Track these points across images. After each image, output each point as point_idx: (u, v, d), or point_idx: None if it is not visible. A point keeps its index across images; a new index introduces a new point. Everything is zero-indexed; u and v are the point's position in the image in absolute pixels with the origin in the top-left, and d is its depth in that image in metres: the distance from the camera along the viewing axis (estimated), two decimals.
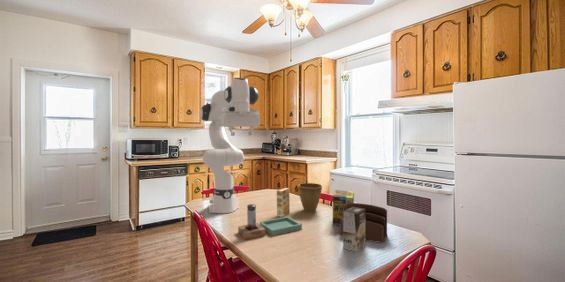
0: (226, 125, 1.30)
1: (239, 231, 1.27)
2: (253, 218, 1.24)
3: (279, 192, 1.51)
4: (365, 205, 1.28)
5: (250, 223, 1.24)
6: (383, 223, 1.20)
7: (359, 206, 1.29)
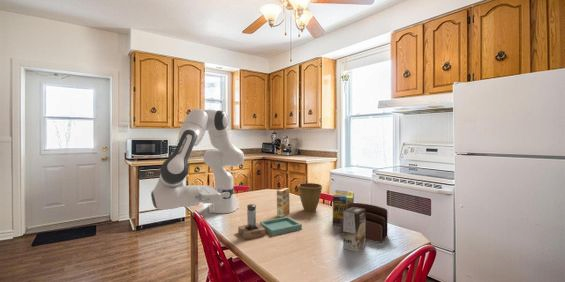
0: None
1: (239, 231, 1.27)
2: (253, 218, 1.24)
3: (279, 192, 1.51)
4: (366, 205, 1.28)
5: (250, 223, 1.24)
6: (383, 223, 1.20)
7: (360, 206, 1.30)
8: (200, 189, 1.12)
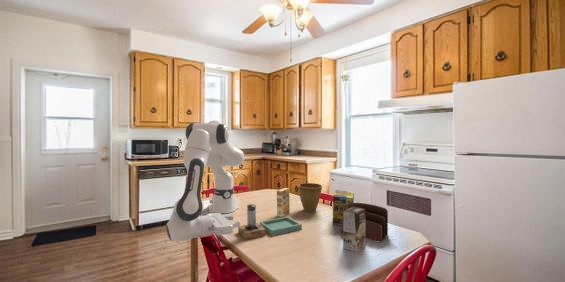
0: None
1: (239, 231, 1.27)
2: (253, 218, 1.24)
3: (279, 192, 1.51)
4: (366, 205, 1.28)
5: (250, 223, 1.24)
6: (383, 223, 1.20)
7: (360, 205, 1.30)
8: (212, 220, 1.15)
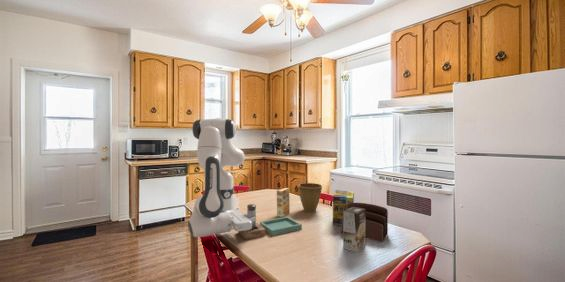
0: None
1: (239, 231, 1.27)
2: None
3: (279, 192, 1.51)
4: (366, 204, 1.29)
5: None
6: (383, 222, 1.21)
7: (360, 205, 1.31)
8: (231, 216, 1.19)
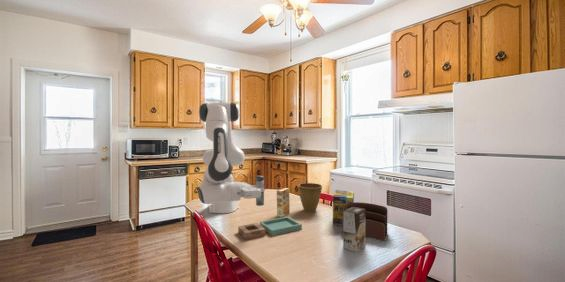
0: None
1: (239, 231, 1.27)
2: None
3: (279, 192, 1.51)
4: (366, 204, 1.30)
5: None
6: (384, 221, 1.22)
7: (360, 205, 1.31)
8: (240, 185, 1.21)
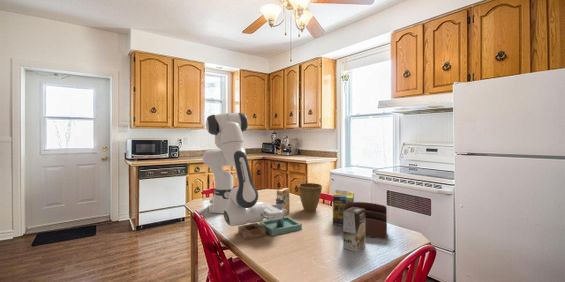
0: None
1: (239, 231, 1.27)
2: None
3: (279, 192, 1.51)
4: (365, 203, 1.31)
5: None
6: (384, 220, 1.24)
7: (359, 204, 1.32)
8: (263, 207, 1.27)
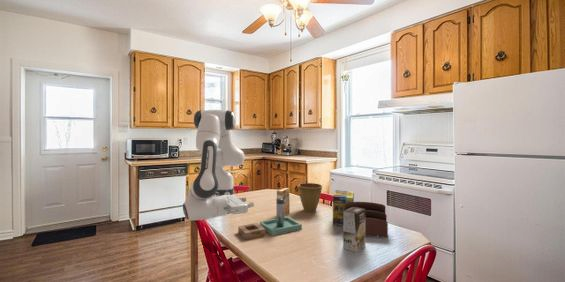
0: None
1: (239, 231, 1.27)
2: (282, 211, 1.32)
3: (279, 192, 1.51)
4: (364, 203, 1.32)
5: (279, 215, 1.32)
6: (384, 219, 1.26)
7: (358, 204, 1.33)
8: (227, 200, 1.18)
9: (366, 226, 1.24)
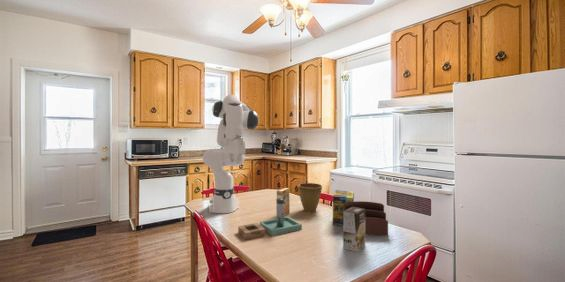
0: (226, 151, 1.37)
1: (239, 231, 1.27)
2: (282, 211, 1.32)
3: (279, 192, 1.51)
4: (363, 202, 1.33)
5: (279, 215, 1.32)
6: (384, 217, 1.27)
7: (357, 204, 1.33)
8: None
9: (367, 225, 1.24)
